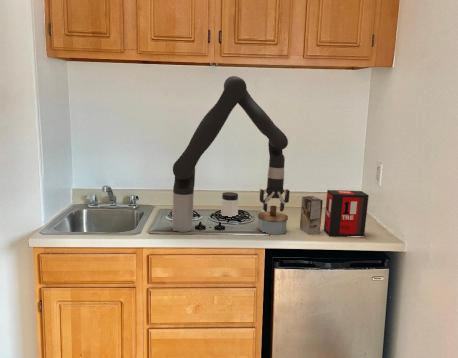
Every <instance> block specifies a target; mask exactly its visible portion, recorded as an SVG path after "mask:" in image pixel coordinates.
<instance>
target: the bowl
mask: <svg viewBox="0 0 458 358" xmlns="http://www.w3.org/2000/svg"><path fill="white" fill-rule="evenodd" d="M287 222H288V220H287V221H285V222H267V221H263V220H260V219H259V218H258V230H259V229H260V230H261V231H264V232H266V233H265V234H267V233H268V234H267V235H283V234H285V233H286V232H287V224H288V223H287ZM260 230H259V231H260ZM261 231H260V232H261Z"/></svg>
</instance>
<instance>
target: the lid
mask: <svg viewBox="0 0 458 358" xmlns="http://www.w3.org/2000/svg"><path fill="white" fill-rule="evenodd" d="M269 207H270V209H269V211H267V212H265V211H261V212H259V213H258V214H257V218H258V220H259V219H260V220H263V221H267V222H285V221H287V222H288V219H289V217H288V215H287V214H286V213H283V212H280V211H279V212H278V211H277V205H270V206H269Z"/></svg>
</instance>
